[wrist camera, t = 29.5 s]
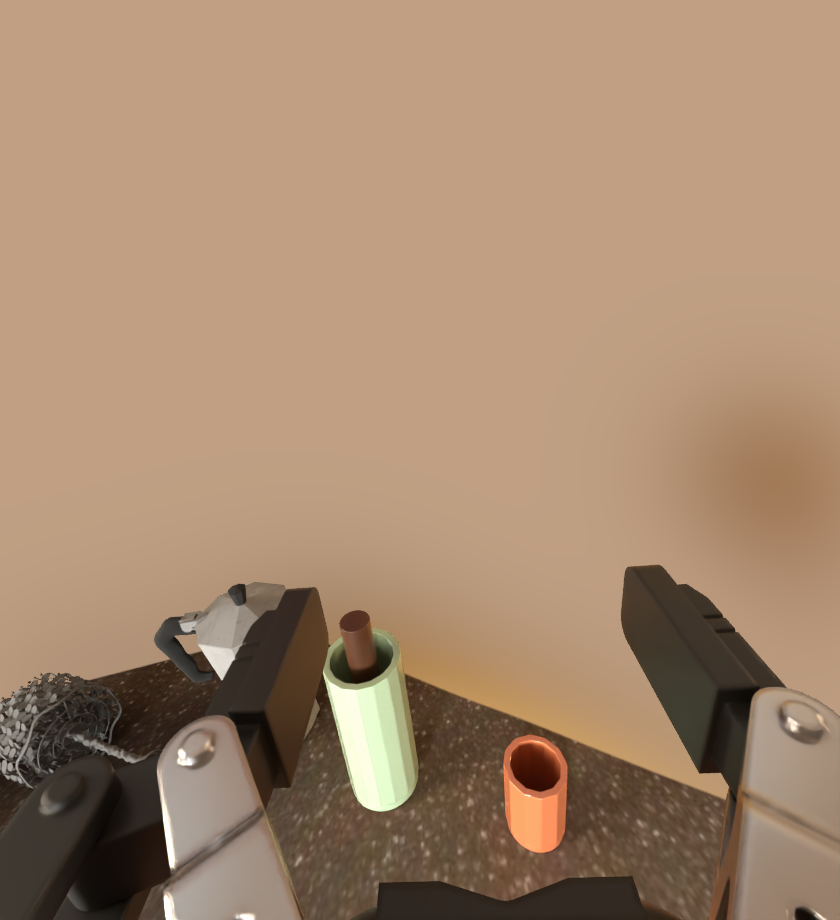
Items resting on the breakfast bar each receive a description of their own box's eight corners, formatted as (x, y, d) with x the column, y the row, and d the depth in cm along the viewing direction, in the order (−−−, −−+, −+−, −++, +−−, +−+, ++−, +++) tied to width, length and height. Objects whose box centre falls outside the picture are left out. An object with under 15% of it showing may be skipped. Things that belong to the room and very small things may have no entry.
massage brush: (123, 855, 37) (80, 786, 34) (-25, 780, 45) (-73, 717, 41) (206, 750, 45) (178, 686, 42) (68, 702, 53) (35, 643, 49)
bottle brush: (396, 750, 42) (370, 605, 36) (401, 780, 40) (373, 629, 33) (368, 758, 42) (336, 612, 35) (371, 788, 40) (337, 637, 33)
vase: (412, 734, 45) (394, 620, 39) (425, 800, 39) (406, 678, 33) (350, 750, 44) (322, 636, 38) (354, 820, 38) (322, 699, 32)
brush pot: (548, 781, 39) (549, 728, 37) (576, 843, 35) (579, 787, 32) (498, 796, 39) (495, 743, 36) (520, 861, 34) (519, 806, 32)
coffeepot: (339, 672, 53) (310, 548, 46) (336, 748, 44) (300, 608, 37) (209, 697, 52) (160, 572, 45) (180, 779, 43) (113, 640, 36)
